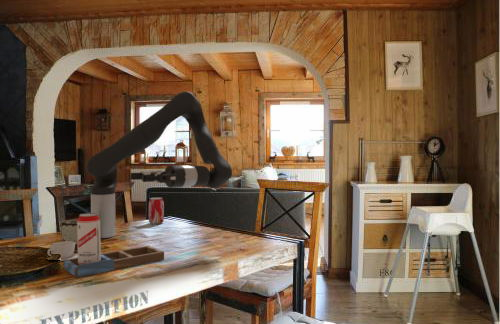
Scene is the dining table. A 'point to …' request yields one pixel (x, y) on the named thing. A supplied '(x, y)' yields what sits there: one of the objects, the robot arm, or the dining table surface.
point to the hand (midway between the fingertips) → (136, 177)
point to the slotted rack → (114, 261)
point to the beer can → (88, 238)
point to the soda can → (156, 210)
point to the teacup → (63, 250)
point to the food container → (69, 231)
